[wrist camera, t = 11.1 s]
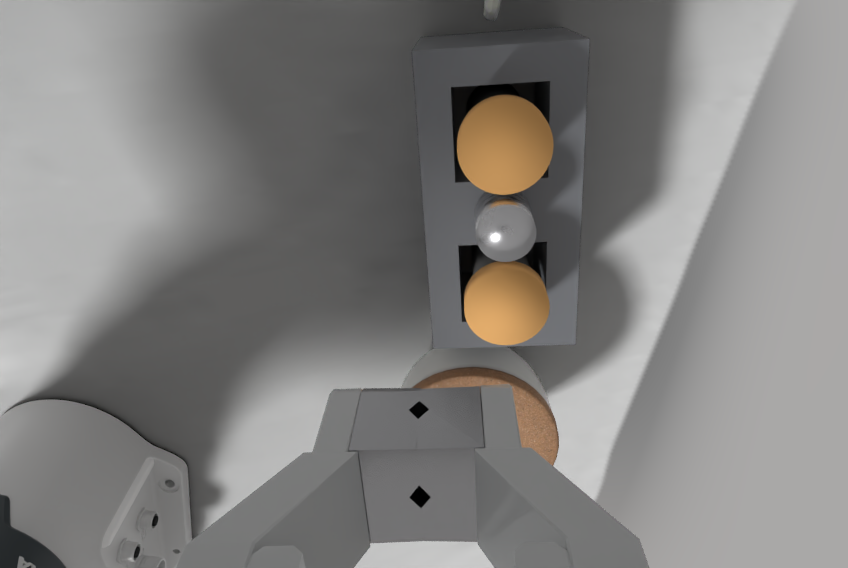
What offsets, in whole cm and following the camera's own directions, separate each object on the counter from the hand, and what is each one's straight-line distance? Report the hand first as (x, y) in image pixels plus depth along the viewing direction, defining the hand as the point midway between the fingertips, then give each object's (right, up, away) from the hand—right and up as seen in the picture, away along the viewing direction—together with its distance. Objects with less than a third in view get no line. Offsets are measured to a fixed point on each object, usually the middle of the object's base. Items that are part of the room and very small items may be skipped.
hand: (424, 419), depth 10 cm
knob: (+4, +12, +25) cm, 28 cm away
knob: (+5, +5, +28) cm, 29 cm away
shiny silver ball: (+4, +6, +21) cm, 22 cm away
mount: (+4, +9, +28) cm, 30 cm away
